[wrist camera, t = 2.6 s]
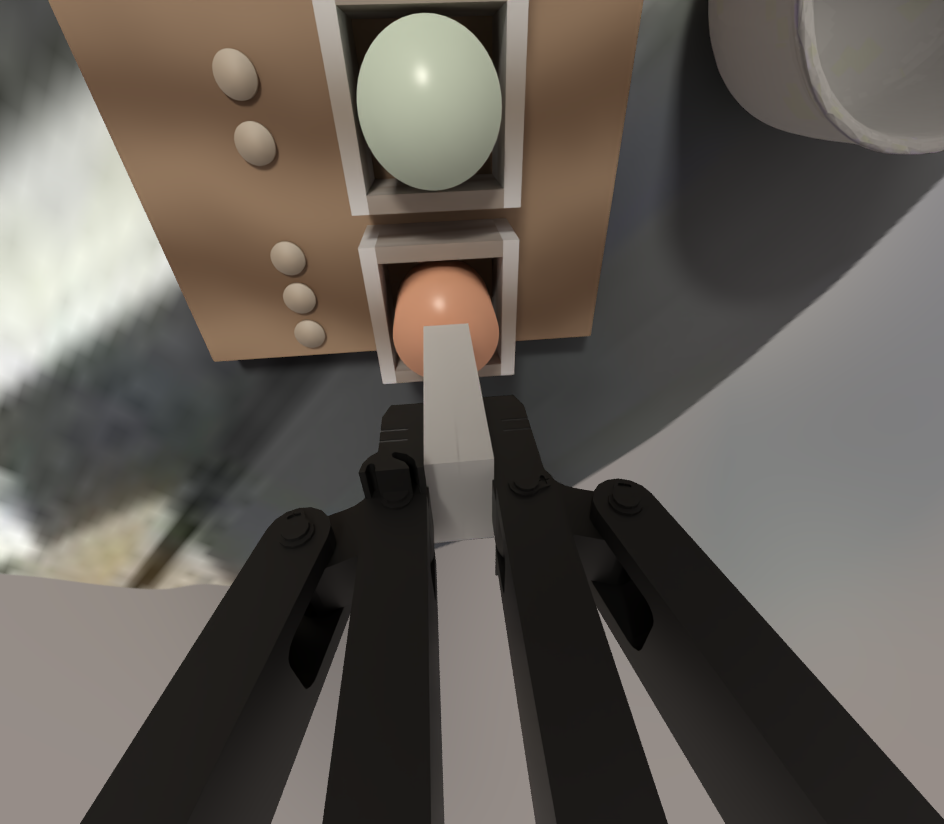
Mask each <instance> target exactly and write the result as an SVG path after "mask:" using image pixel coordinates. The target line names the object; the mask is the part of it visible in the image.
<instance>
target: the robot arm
mask: <svg viewBox="0 0 944 824" xmlns="http://www.w3.org/2000/svg"><path fill="white" fill-rule="evenodd" d="M423 368H424V403H417V404H404V405H391V406H390V408H389V409H388V410H387V412H386V413H385V414H384V416H383V417H382V425H381V433H380V443H379V449H378V453H376V454H374V455H372V456H370V457H369V458H368V459H367V460H366V461H365V462H364V463H363V464H362V466H361V468H360V471H359V476H360V479H361V483H362V487H363V491H364V494H365V498H364V500H362V501H361V502H360V503H358V504H357V505H355V506H353V507H351V508H349V509H346V510H344V511H341V512H338V513H335V514H332V515H330V516H327V515H326V514H325V513H324V512H323V511H322V510H319V509H315V508H312V507H309V508H298V509H295V510H292V511H289V512H286V513H285V514H283V515H282V516H280V517H279V518H277V519H276V520H275V521H274V522H273V523H272V524H271V525H270V526H269V527H268V529H267V530H266V531H265V533H264V535H263V536H262V538H261V539H260V541H259V542H258V544H257V546H256V547H255V549H254V550H253V552H252V553H251V555H250V557H249V558H248V560H247V561H246V563H245V565H244V566H243V568H242V569H241V571H240V572H239V574H238V576H237V577H236V579H235V580H234V582H233V583H232V585H231V587H230V588H229V590H228V591H227V593H226V594H225V596H224V598H223V599H222V601H221V602H220V604H219V605H218V607H217V609H216V610H215V612H214V613H213V615H212V617H211V618H210V620H209V621H208V623H207V624H206V626H205V628H204V629H203V631H202V633H201V634H200V635H199V637H198V639H197V640H196V642H195V643H194V645H193V647H192V648H191V650H190V651H189V653H188V654H187V656H186V658H185V660H184V661H183V662H182V664H181V666H180V667H179V669H178V670H177V672H176V673H175V675H174V676H173V678H172V680H171V681H170V683H169V684H168V686H167V687H166V689H165V691H164V692H163V694H162V695H161V697H160V699H159V700H158V702H157V703H156V705H155V706H154V708H153V709H152V711H151V713H150V714H149V716H148V717H147V719H146V720H145V722H144V724H143V725H142V727H141V728H140V730H139V731H138V733H137V735H136V736H135V738H134V739H133V741H132V743H131V744H130V746H129V747H128V749H127V750H126V752H125V754H124V755H123V757H122V758H121V760H120V761H119V763H118V765H117V766H116V768H115V769H114V771H113V772H112V774H111V776H110V777H109V779H108V780H107V782H106V784H105V785H104V787H103V788H102V790H101V792H100V793H99V795H98V796H97V798H96V799H95V801H94V803H93V804H92V806H91V807H90V809H89V810H88V812H87V813H86V815H85V817H84V818H83V820H82V821H81V823H80V824H271V822H272V819H273V816H274V814H275V811H276V809H277V806H278V803H279V801H280V798H281V795H282V793H283V790H284V787H285V785H286V782H287V780H288V777H289V774H290V772H291V769H292V766H293V764H294V761H295V758H296V756H297V753H298V750H299V748H300V745H301V742H302V740H303V737H304V735H305V732H306V729H307V727H308V724H309V721H310V719H311V716H312V713H313V710H314V708H315V705H316V703H317V700H318V697H319V695H320V692H321V690H322V687H323V684H324V682H325V679H326V676H327V674H328V671H329V668H330V666H331V663H332V660H333V658H334V655H335V652H336V650H337V647H338V644H339V642H340V639H341V636H342V634H343V631H344V629H345V626H346V623H347V621H348V618H349V615H350V622H349V629H348V636H347V644H346V651H345V659H344V666H343V674H342V681H341V689H340V696H339V704H338V711H337V719H336V726H335V733H334V741H333V749H332V756H331V763H330V771H329V778H328V786H327V793H326V801H325V809H324V816H323V823H322V824H444V798H443V767H442V734H441V702H440V675H439V674H440V671H439V639H438V607H437V577H436V576H437V574H436V559H435V551H434V543H440V542H451V541H462V540H472V539H483V538H493V537H494V536H495V542H496V567H495V568H496V570H495V573H496V575H498V577H499V583H500V590H501V597H502V603H503V610H504V616H505V623H506V630H507V636H508V642H509V649H510V656H511V663H512V669H513V676H514V683H515V689H516V696H517V703H518V709H519V715H520V722H521V729H522V735H523V742H524V749H525V755H526V761H527V768H528V775H529V782H530V789H531V794H532V801H533V808H534V815H535V821H536V824H668V823H667V820H666V817H665V813H664V810H663V807H662V805H661V801H660V798H659V795H658V792H657V789H656V786H655V783H654V781H653V777H652V774H651V771H650V768H649V765H648V762H647V759H646V756H645V753H644V750H643V747H642V744H641V741H640V738H639V735H638V732H637V729H636V726H635V723H634V720H633V716H632V713H631V710H630V707H629V704H628V702H627V698H626V695H625V692H624V690H623V686H622V684H621V680H620V677H619V674H618V671H617V668H616V665H615V662H614V659H613V656H612V653H611V650H610V647H609V644H608V641H607V638H606V635H605V632H604V629H603V626H602V623H601V620H600V617H599V614H598V610H599V611H600V613H601V615H602V617H603V618H604V620H605V622H606V623H607V625H608V627H609V628H610V630H611V632H612V633H613V635H614V637H615V639H616V640H617V642H618V644H619V645H620V647H621V648H622V650H623V652H624V654H625V655H626V657H627V659H628V660H629V662H630V664H631V665H632V667H633V669H634V670H635V672H636V674H637V675H638V677H639V679H640V681H641V682H642V684H643V686H644V687H645V689H646V691H647V692H648V694H649V696H650V697H651V699H652V701H653V702H654V704H655V706H656V708H657V709H658V711H659V713H660V714H661V716H662V718H663V719H664V721H665V722H666V724H667V726H668V728H669V729H670V731H671V733H672V734H673V736H674V738H675V739H676V741H677V743H678V745H679V746H680V748H681V749H682V751H683V753H684V755H685V756H686V758H687V760H688V761H689V763H690V765H691V766H692V768H693V770H694V771H695V773H696V775H697V776H698V778H699V780H700V781H701V783H702V785H703V787H704V788H705V790H706V792H707V793H708V795H709V797H710V798H711V800H712V802H713V803H714V805H715V807H716V808H717V810H718V812H719V814H720V815H721V817H722V819H723V820H724V822H725V824H944V819H943V818H942V817H941V816H940V815H939V813H938V812H937V811H936V810H935V809H934V808H933V807H932V806H931V805H930V803H929V802H928V801H927V800H926V799H925V798H924V797H923V796H922V794H921V793H920V792H919V791H918V790H917V789H916V788H915V787H914V786H913V784H912V783H911V782H910V781H909V780H908V779H907V778H906V777H905V776H904V774H903V773H902V772H901V771H900V770H899V769H898V768H897V767H896V766H895V764H893V762H892V761H891V760H890V759H889V758H888V757H887V755H886V754H885V753H884V752H883V751H882V750H881V749H880V748H879V747H878V745H877V744H876V743H875V742H874V741H873V740H872V739H871V738H870V736H869V735H868V734H867V733H866V732H865V731H864V730H863V729H862V728H861V726H859V724H858V723H857V722H856V721H855V720H854V719H853V718H852V716H850V714H849V713H848V712H847V711H846V710H845V709H844V708H843V706H842V705H841V704H840V703H839V702H838V701H837V700H836V699H835V698H834V696H832V694H831V693H830V692H829V691H828V690H827V689H826V688H825V686H824V685H823V684H822V683H821V682H820V681H819V680H818V679H817V677H816V676H815V675H814V674H813V673H812V672H811V671H810V670H809V669H808V667H807V666H806V665H805V664H804V663H803V662H802V661H801V660H800V658H799V657H798V656H797V655H796V654H795V653H794V652H793V651H792V650H791V649H790V647H789V646H788V645H787V644H786V643H785V642H784V641H783V639H782V638H781V637H780V636H779V635H778V634H777V633H776V632H775V631H774V630H773V628H772V627H771V626H770V625H769V624H768V623H767V622H766V621H765V620H764V618H763V617H762V616H761V615H760V614H759V613H758V612H757V611H756V609H755V608H754V607H753V606H752V605H751V604H750V603H749V602H748V601H747V599H746V598H745V597H744V596H743V595H742V594H741V593H740V592H739V591H738V589H737V588H736V587H735V586H734V585H733V584H732V583H731V582H730V581H729V579H728V578H727V577H726V576H725V575H724V574H723V573H722V572H721V570H720V569H719V568H718V567H717V566H716V565H715V564H714V563H713V562H712V560H710V558H709V557H708V556H707V555H706V554H705V553H704V551H703V550H702V549H701V548H700V547H699V546H698V545H697V544H696V542H695V541H694V540H693V539H692V538H691V537H690V536H689V535H688V534H687V532H686V531H685V530H684V529H683V528H682V527H681V526H680V525H679V524H678V523H677V521H676V520H675V519H674V518H673V517H672V516H671V515H670V514H669V513H668V512H667V510H666V509H665V508H664V507H663V506H662V505H661V503H660V502H659V501H658V500H657V499H656V498H655V497H654V496H653V495H652V493H650V492H649V491H648V490H647V489H646V488H644V487H643V486H642V485H639V484H637V483H635V482H632V481H630V480H624V479H611V480H606V481H604V482H603V483H600V484H599V485H598V486H597V488H596V489H595V490H594V491H589V490H582V489H577V488H572V487H568V486H565V485H563V484H561V483H559V482H557V481H555V480H554V479H553V478H552V476H551V475H550V474H549V473H548V472H546V471H545V469H544V467H543V465H542V462H541V458H540V455H539V452H538V449H537V446H536V443H535V439H534V436H533V433H532V430H531V427H530V424H529V420H528V418H527V414H526V411H525V408H524V405H523V404H522V403H521V402H520V401H519V400H518V399H517V398H516V397H515V396H514V395H507V396H494V397H482V393H481V388H480V383H479V377H478V372H477V367H476V362H475V356H474V351H473V346H472V341H471V335H470V330H469V325H468V323H466V324H451V325H435V326H423ZM597 608H598V610H597ZM350 613H351V614H350Z"/></svg>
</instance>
